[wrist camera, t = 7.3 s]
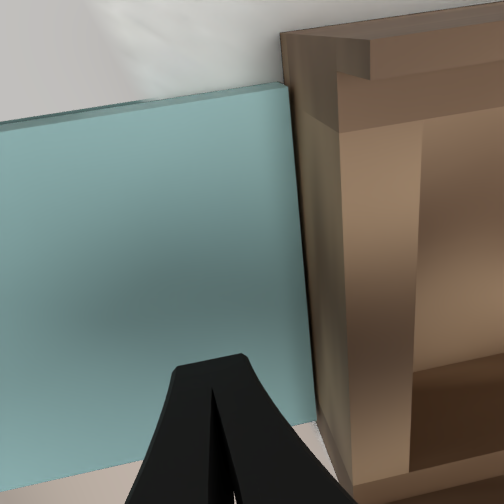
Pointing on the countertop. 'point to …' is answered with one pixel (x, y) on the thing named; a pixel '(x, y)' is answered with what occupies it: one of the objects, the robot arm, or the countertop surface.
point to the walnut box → (404, 248)
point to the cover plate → (143, 270)
